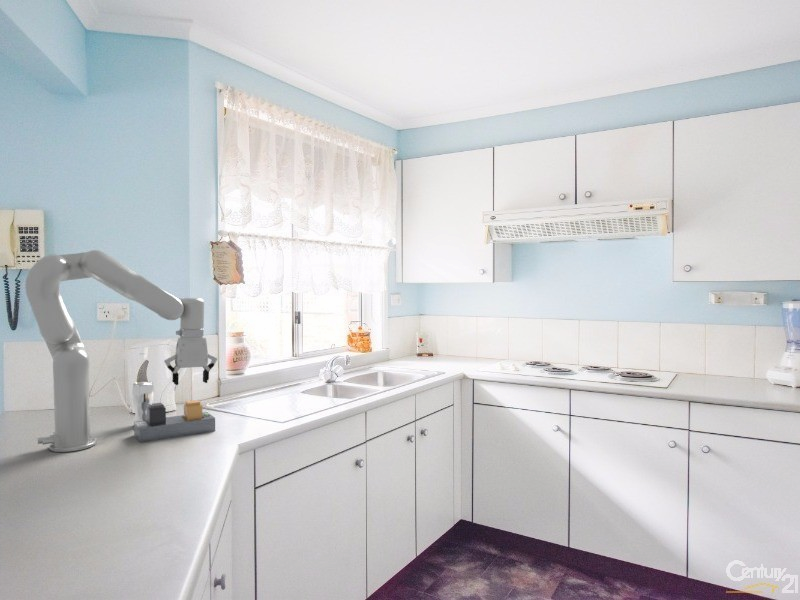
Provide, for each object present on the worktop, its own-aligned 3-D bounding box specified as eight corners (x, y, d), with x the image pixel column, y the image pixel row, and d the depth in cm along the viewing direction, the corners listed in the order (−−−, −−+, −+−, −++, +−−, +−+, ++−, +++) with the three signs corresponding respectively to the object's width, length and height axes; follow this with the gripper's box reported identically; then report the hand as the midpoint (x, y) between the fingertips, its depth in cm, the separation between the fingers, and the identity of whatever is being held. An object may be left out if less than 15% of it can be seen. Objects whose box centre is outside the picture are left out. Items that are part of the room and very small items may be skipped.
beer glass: (158, 422, 203) (157, 381, 203) (147, 427, 196) (146, 385, 196) (139, 422, 204) (139, 381, 203) (128, 427, 197) (128, 385, 196)
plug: (187, 433, 190) (187, 404, 190) (184, 429, 194) (183, 401, 194) (202, 430, 193) (202, 402, 192) (198, 427, 197) (198, 399, 196)
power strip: (139, 442, 179) (138, 409, 179) (133, 435, 187) (133, 404, 187) (215, 430, 193) (214, 400, 192) (207, 424, 201) (206, 395, 201)
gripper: (167, 335, 184) (166, 387, 184) (220, 334, 194) (219, 383, 194) (162, 333, 190) (161, 383, 191) (214, 332, 200) (213, 379, 200)
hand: (190, 383), depth 192 cm, fingers open, 9 cm apart
